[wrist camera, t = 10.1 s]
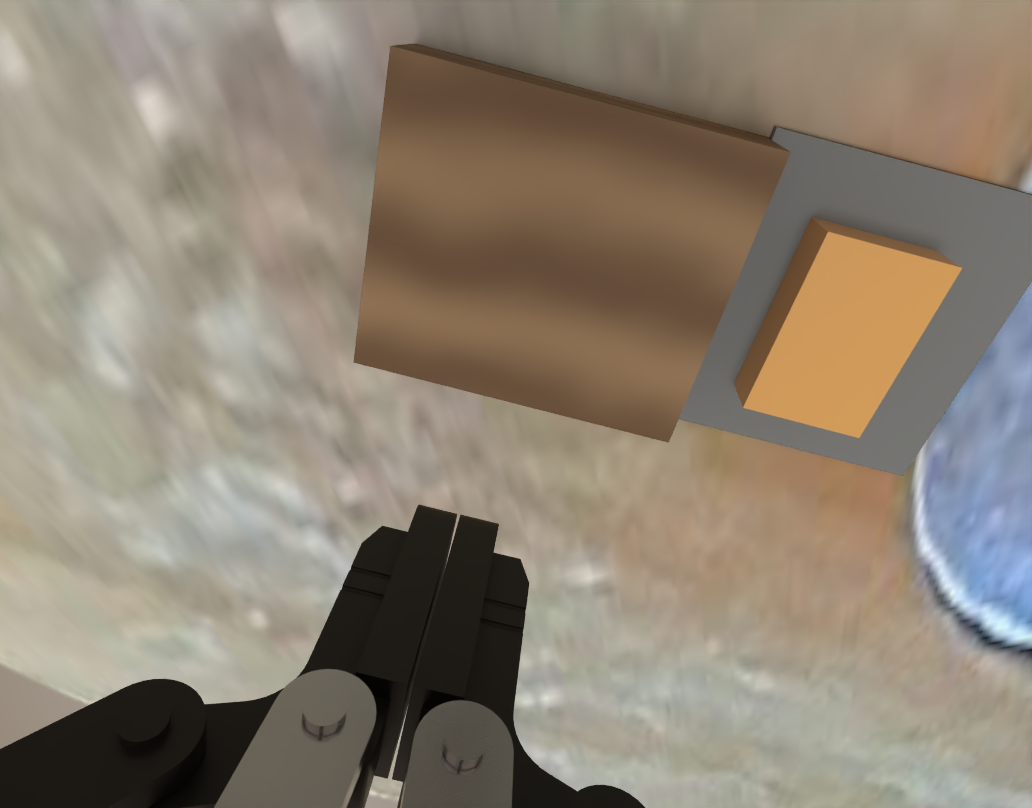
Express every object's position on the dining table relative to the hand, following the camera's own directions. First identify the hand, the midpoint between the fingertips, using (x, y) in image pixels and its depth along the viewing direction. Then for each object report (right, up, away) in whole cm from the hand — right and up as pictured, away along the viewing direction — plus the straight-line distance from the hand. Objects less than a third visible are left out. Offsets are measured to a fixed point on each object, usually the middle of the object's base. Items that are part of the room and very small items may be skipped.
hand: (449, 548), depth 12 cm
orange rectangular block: (+16, +6, +19) cm, 26 cm away
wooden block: (+3, +11, +20) cm, 23 cm away
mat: (+18, +7, +21) cm, 28 cm away
